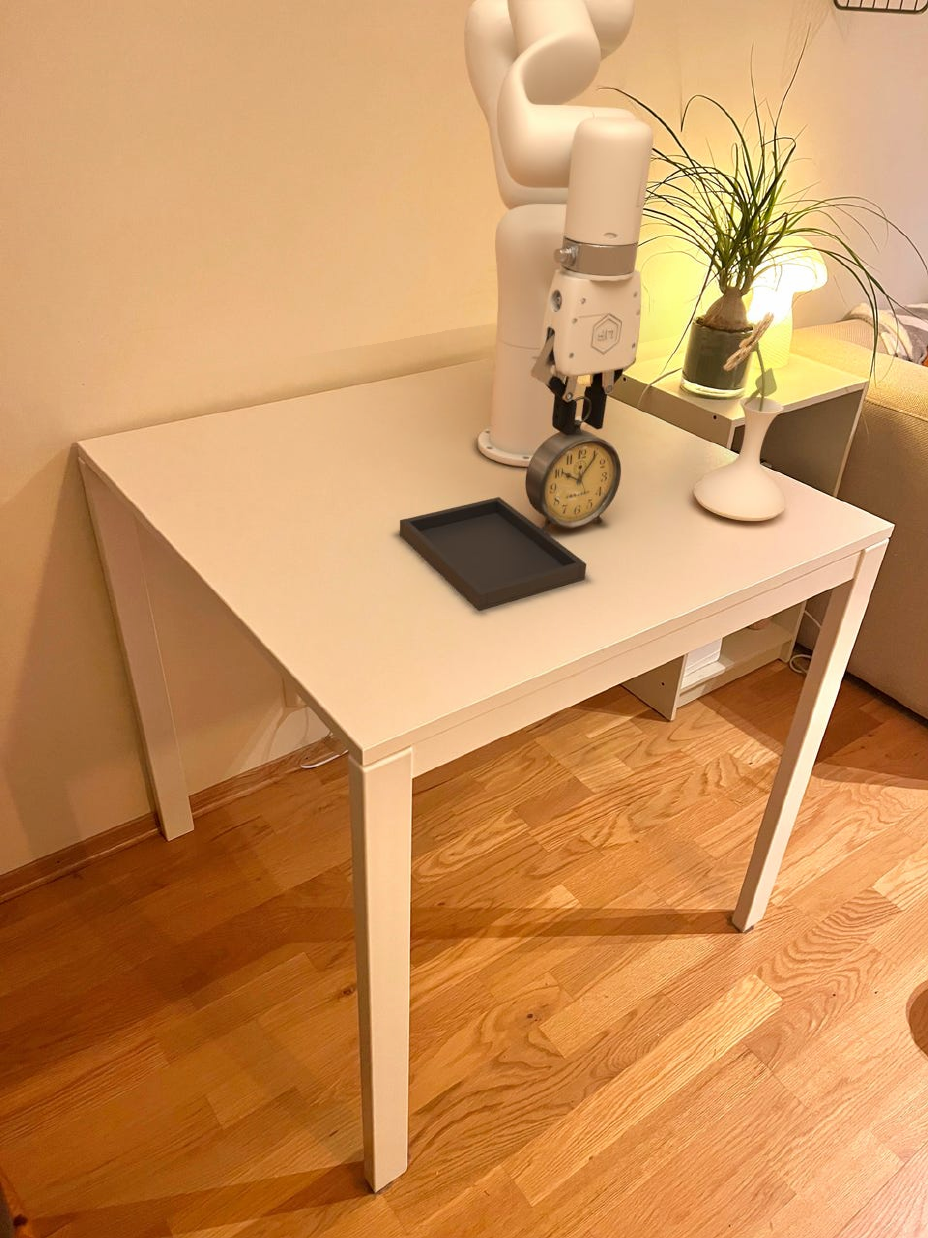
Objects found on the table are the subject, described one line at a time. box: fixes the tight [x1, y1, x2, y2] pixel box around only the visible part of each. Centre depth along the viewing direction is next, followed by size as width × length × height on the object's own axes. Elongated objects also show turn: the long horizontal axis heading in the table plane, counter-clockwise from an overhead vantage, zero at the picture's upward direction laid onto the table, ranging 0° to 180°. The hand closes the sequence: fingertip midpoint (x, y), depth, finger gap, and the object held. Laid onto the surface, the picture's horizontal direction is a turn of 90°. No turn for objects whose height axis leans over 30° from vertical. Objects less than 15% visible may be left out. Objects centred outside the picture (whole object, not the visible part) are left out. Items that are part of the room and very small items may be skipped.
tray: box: [399, 496, 587, 611], centre depth 102 cm, size 14×18×2 cm
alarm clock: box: [524, 395, 622, 532], centre depth 105 cm, size 11×5×16 cm, turn 117°
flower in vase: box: [693, 311, 787, 522], centre depth 108 cm, size 13×11×25 cm
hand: (577, 426), depth 103 cm, fingers closed on alarm clock, 3 cm apart
